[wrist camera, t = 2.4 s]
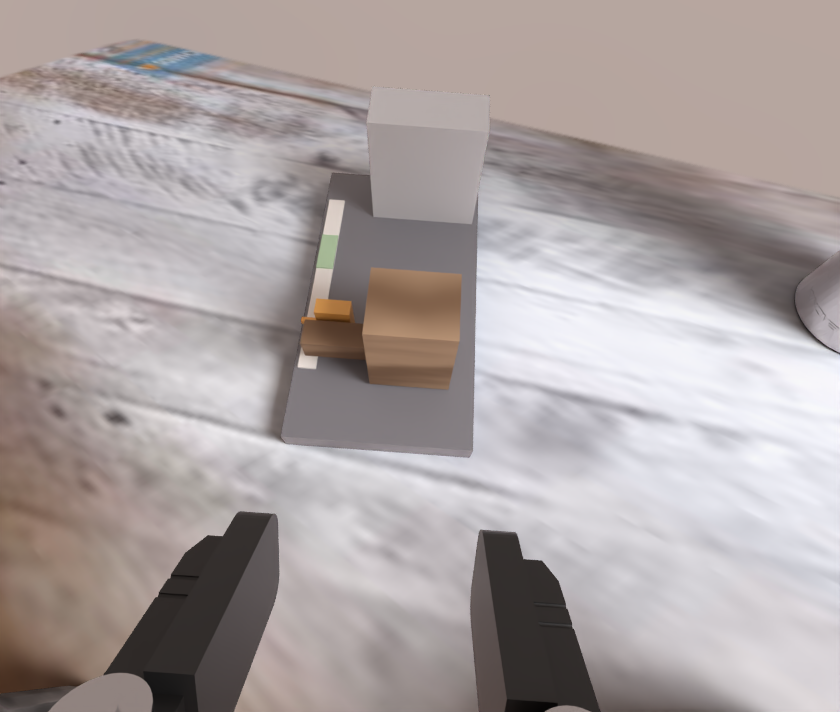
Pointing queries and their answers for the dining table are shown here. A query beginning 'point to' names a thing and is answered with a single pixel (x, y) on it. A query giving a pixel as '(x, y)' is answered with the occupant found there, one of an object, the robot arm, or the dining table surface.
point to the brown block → (398, 329)
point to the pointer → (332, 311)
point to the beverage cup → (33, 699)
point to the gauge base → (405, 250)
